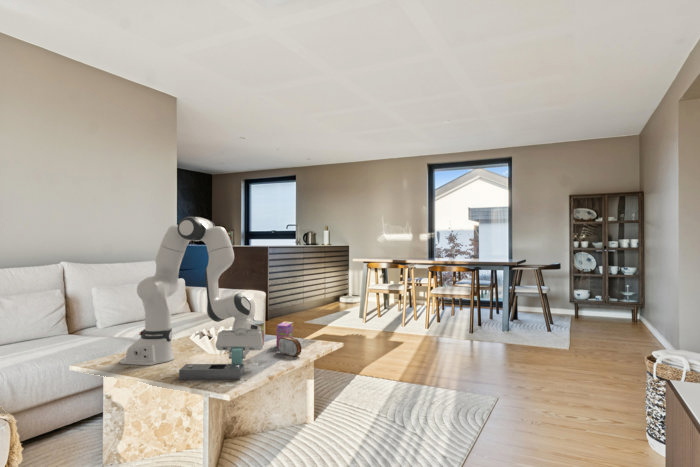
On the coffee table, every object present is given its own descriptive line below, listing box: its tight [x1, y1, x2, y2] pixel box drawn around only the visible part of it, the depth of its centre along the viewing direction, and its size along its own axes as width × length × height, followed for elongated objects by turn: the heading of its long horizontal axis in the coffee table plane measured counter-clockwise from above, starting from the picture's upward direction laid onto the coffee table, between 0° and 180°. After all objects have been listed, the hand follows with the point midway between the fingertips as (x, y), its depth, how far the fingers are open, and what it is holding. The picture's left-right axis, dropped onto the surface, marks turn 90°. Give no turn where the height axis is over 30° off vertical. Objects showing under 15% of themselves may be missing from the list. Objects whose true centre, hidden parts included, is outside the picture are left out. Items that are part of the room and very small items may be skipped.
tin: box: [278, 336, 302, 357], centre depth 206 cm, size 15×3×8 cm, turn 48°
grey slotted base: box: [178, 363, 245, 381], centre depth 172 cm, size 24×8×4 cm, turn 93°
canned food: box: [253, 319, 265, 346], centre depth 225 cm, size 11×11×12 cm
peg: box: [230, 348, 244, 364], centre depth 181 cm, size 4×4×9 cm
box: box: [275, 321, 294, 349], centre depth 224 cm, size 10×6×12 cm, turn 168°
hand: (237, 358), depth 181 cm, fingers closed on peg, 4 cm apart
